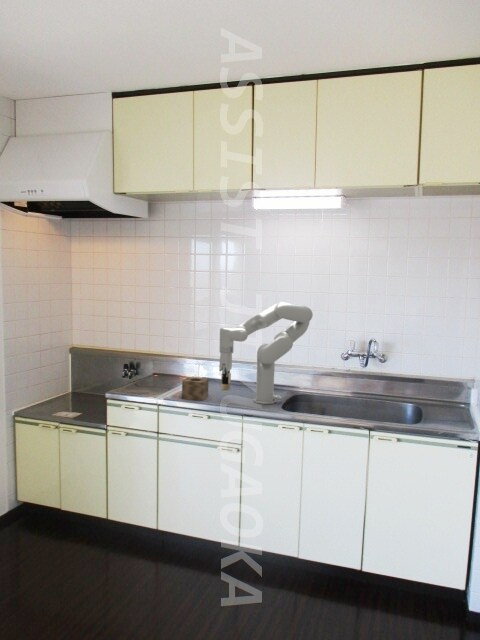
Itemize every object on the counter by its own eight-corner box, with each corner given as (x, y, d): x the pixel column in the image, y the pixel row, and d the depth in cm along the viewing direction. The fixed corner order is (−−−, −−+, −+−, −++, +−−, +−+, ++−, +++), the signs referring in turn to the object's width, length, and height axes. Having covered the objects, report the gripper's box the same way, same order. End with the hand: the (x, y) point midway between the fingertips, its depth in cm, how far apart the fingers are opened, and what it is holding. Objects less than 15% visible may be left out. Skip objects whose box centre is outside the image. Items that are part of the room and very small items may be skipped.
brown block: (208, 396, 290) (208, 378, 289) (202, 400, 280) (203, 382, 279) (187, 394, 293) (188, 377, 292) (181, 398, 283) (182, 380, 282)
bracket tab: (230, 389, 283) (230, 373, 282) (229, 390, 280) (229, 374, 279) (222, 388, 284) (223, 372, 283) (221, 390, 281) (221, 373, 280)
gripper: (223, 347, 289) (223, 379, 291) (215, 351, 273) (215, 386, 275) (236, 348, 287) (236, 380, 289) (229, 352, 271) (229, 387, 273)
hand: (226, 383), depth 282 cm, fingers closed on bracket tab, 3 cm apart
